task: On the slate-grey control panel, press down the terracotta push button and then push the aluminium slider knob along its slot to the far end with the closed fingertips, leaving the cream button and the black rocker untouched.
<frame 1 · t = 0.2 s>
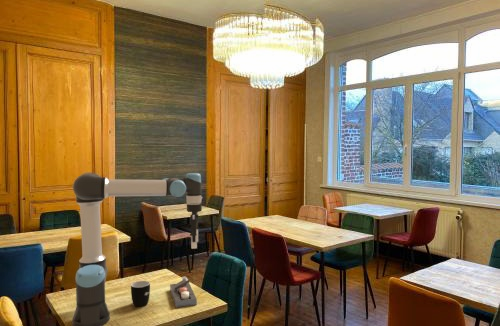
hand: (194, 244, 192), 26 cm above the table, fingers open, 13 cm apart
mug: (142, 303, 184), on the table
rocker: (181, 283, 195), point 6 cm above the table, hinge at -25.0°
panel: (182, 297, 191), on the table
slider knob: (184, 280, 202), point 5 cm above the table, slide at 0.0 cm
red button: (183, 291, 189), point 4 cm above the table, slide at 0.0 cm
cream button: (185, 295, 183), point 4 cm above the table, slide at 0.0 cm
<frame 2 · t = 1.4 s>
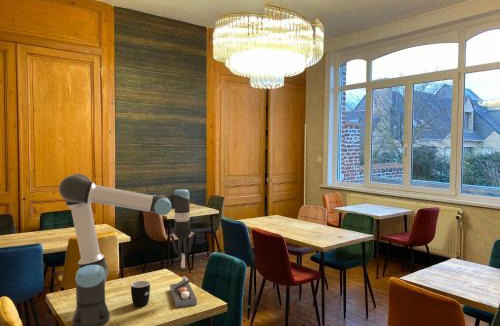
hand: (183, 266, 188), 16 cm above the table, fingers closed
nothing on the table moved.
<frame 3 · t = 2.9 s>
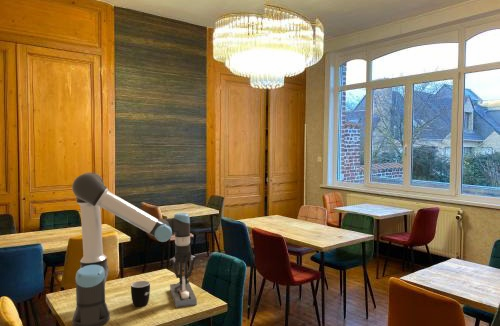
hand: (183, 290, 189), 4 cm above the table, fingers closed
red button: (183, 293, 189), point 2 cm above the table, slide at 1.3 cm, touching gripper
everything else where it was.
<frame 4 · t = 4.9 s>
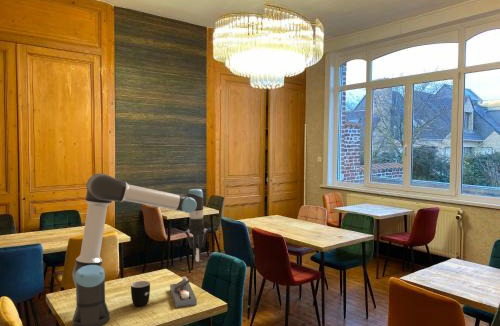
hand: (197, 260, 203), 15 cm above the table, fingers closed
red button: (183, 294, 189), point 2 cm above the table, slide at 1.5 cm
everything else where it was.
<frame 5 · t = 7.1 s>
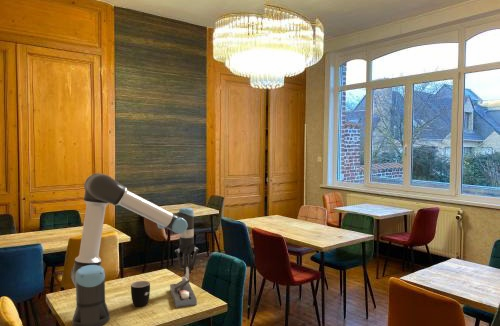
hand: (187, 279, 202), 5 cm above the table, fingers closed
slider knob: (184, 280, 202), point 5 cm above the table, slide at 0.2 cm, touching gripper
everything else where it was.
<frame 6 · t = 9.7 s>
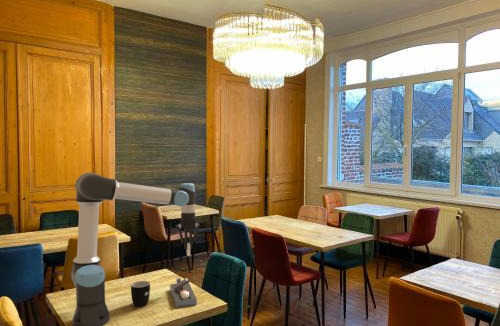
hand: (188, 255, 202), 18 cm above the table, fingers closed
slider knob: (178, 280, 201), point 5 cm above the table, slide at 3.2 cm
everything else where it was.
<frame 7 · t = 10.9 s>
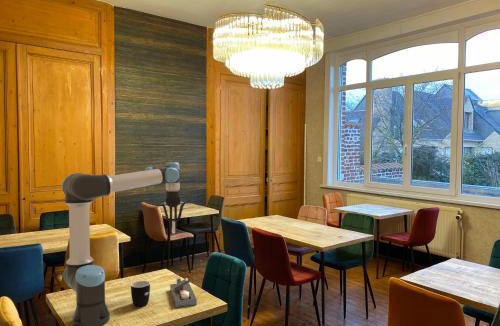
hand: (173, 232, 207), 29 cm above the table, fingers closed
nothing on the table moved.
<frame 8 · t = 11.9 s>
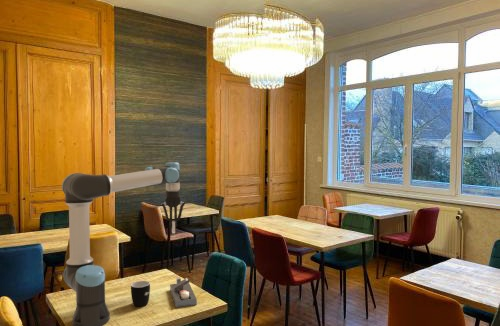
hand: (173, 232, 207), 29 cm above the table, fingers closed
nothing on the table moved.
at the end: red button slide at 1.5 cm; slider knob slide at 3.2 cm; cream button slide at 0.0 cm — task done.
